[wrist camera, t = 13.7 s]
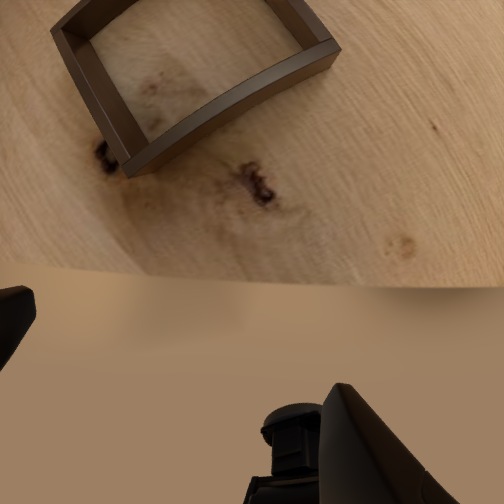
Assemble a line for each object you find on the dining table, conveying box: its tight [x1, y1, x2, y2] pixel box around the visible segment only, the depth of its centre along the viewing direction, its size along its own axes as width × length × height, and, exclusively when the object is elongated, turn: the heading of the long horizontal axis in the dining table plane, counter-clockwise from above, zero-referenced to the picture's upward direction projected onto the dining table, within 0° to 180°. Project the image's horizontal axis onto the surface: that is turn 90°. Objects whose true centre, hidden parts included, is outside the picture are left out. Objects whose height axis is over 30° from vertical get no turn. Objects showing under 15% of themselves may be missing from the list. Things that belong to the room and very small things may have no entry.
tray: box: [50, 0, 342, 179], centre depth 13 cm, size 13×13×4 cm
